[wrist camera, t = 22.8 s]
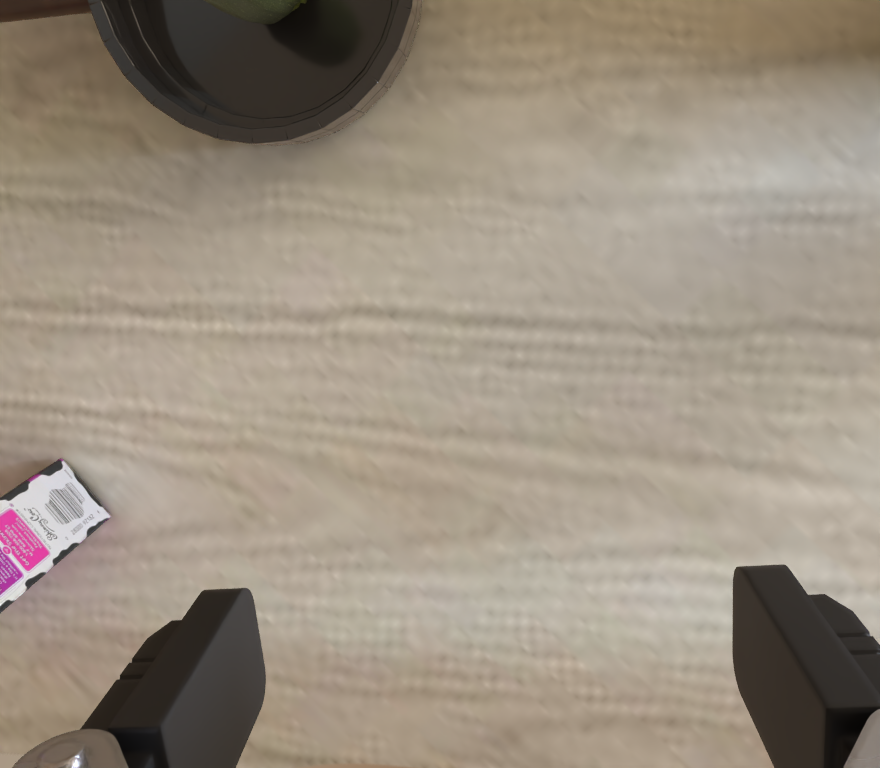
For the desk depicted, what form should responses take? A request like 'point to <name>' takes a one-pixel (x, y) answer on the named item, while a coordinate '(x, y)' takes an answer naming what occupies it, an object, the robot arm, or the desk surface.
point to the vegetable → (257, 9)
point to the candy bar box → (43, 526)
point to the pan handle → (40, 9)
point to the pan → (260, 63)
